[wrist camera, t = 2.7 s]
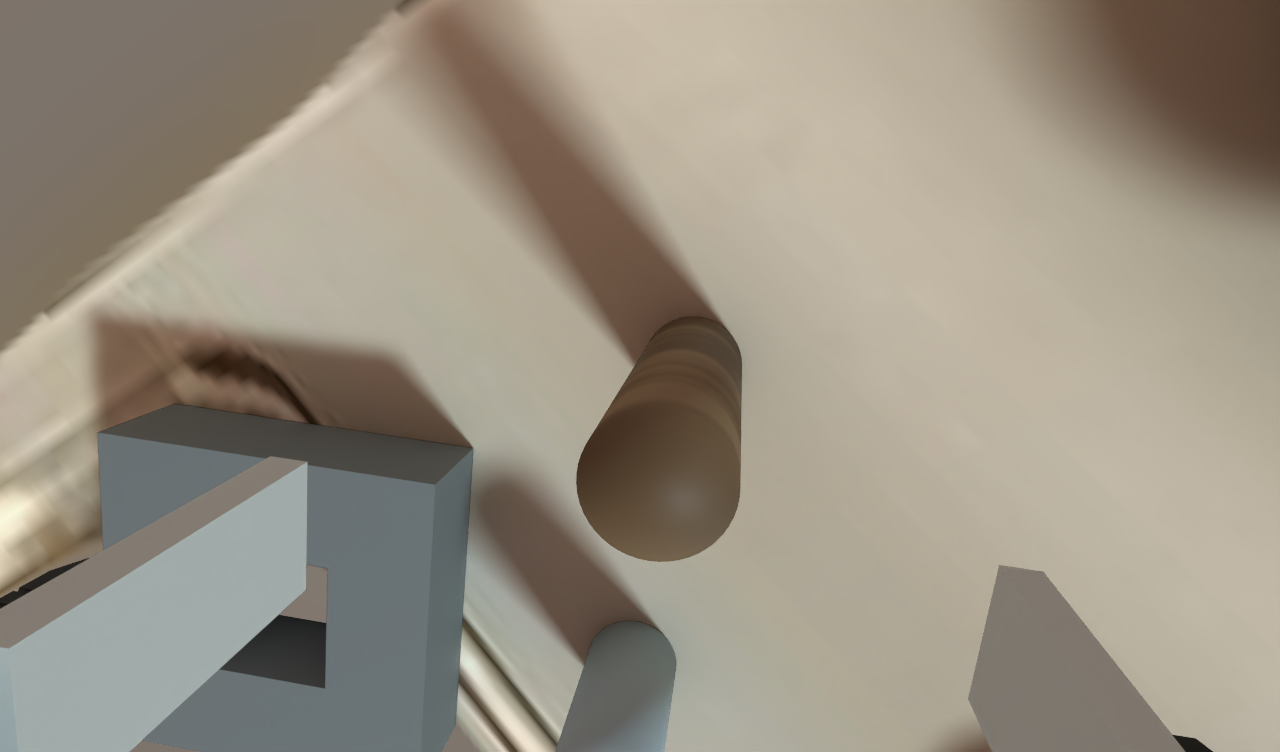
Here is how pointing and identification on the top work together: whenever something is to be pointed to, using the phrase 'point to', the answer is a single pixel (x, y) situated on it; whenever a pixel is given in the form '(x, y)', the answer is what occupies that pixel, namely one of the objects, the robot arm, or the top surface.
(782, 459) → the top surface
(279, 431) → the hole block
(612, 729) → the short pin
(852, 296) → the top surface
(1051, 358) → the top surface
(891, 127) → the top surface
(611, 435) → the long pin
